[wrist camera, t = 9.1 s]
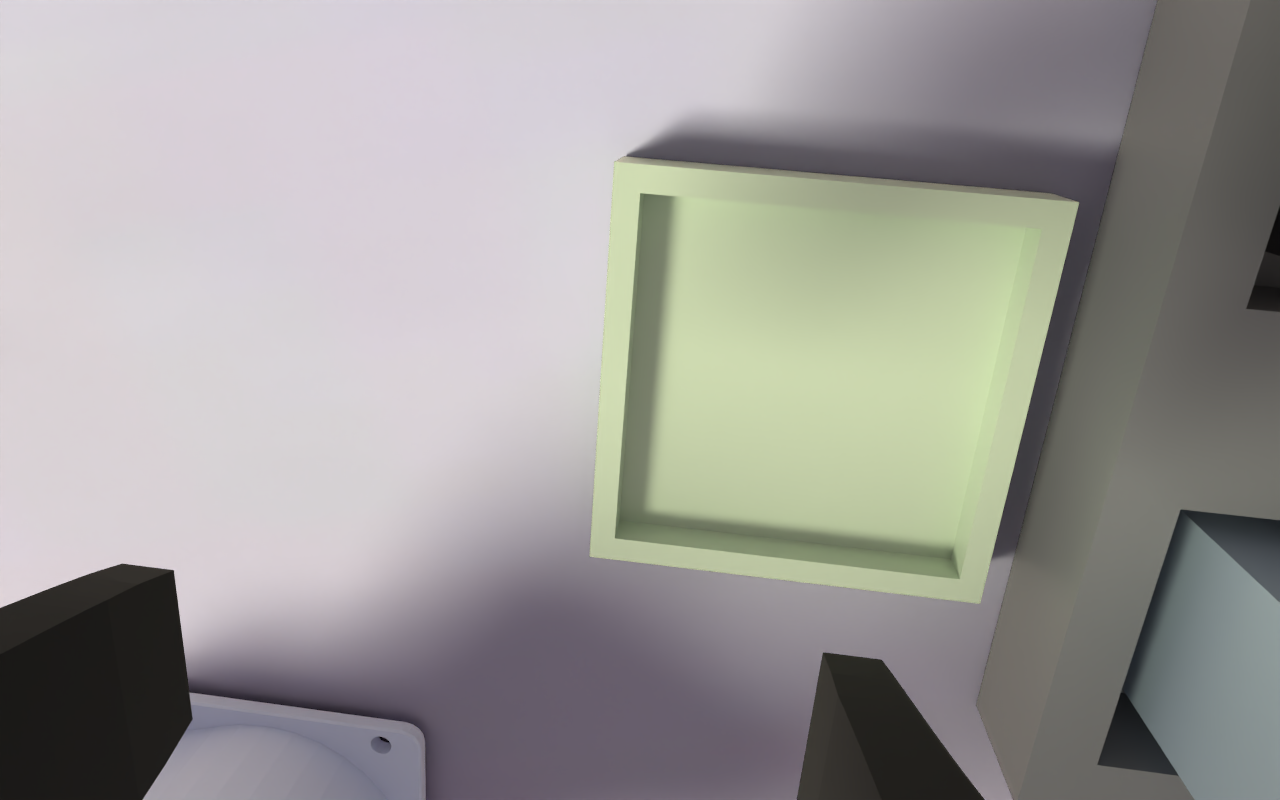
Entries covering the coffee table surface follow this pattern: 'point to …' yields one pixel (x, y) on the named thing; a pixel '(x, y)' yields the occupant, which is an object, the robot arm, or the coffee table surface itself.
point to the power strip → (1148, 404)
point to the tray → (818, 372)
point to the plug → (1215, 657)
